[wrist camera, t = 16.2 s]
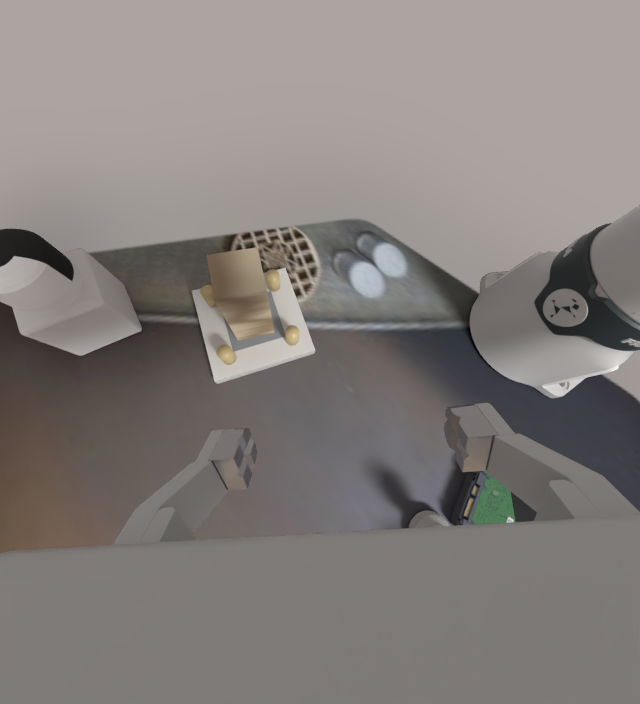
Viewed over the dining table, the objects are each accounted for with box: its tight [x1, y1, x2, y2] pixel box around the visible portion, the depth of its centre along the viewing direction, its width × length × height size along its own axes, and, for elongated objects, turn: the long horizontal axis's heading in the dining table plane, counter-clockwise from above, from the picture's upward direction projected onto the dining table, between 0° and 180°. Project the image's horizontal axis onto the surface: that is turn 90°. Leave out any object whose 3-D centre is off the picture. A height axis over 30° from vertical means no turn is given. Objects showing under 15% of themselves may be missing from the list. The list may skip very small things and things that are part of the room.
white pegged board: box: [192, 268, 315, 384], centre depth 31 cm, size 12×12×4 cm
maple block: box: [206, 248, 275, 340], centre depth 27 cm, size 4×4×10 cm
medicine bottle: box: [0, 229, 142, 356], centre depth 26 cm, size 7×7×12 cm
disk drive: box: [449, 471, 537, 526], centre depth 29 cm, size 10×3×15 cm
